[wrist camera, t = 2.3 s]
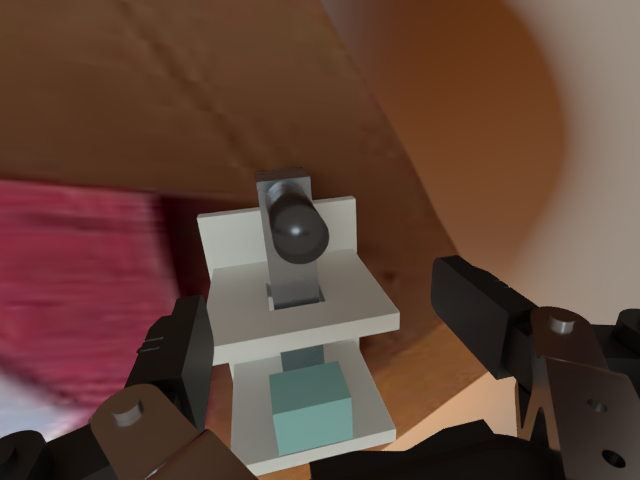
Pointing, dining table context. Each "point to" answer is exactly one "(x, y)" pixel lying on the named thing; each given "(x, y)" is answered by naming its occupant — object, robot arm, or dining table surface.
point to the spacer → (310, 407)
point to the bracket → (292, 329)
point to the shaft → (292, 248)
